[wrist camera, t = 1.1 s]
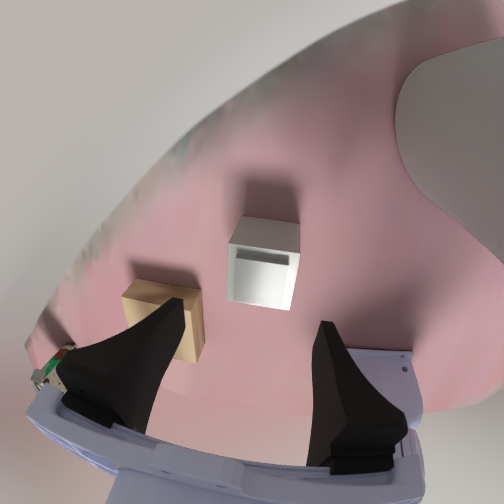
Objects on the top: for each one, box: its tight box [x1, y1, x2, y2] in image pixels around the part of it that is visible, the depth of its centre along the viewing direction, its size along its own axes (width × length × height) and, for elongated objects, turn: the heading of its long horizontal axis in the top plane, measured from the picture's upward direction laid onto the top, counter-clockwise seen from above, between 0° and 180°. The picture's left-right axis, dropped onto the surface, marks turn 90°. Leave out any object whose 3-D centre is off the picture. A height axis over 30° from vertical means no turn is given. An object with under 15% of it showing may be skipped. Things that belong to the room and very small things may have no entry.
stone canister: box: [226, 216, 300, 310], centre depth 20 cm, size 4×4×6 cm
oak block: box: [121, 278, 205, 364], centre depth 26 cm, size 7×7×4 cm
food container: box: [30, 343, 78, 394], centre depth 33 cm, size 12×6×10 cm, turn 0°
